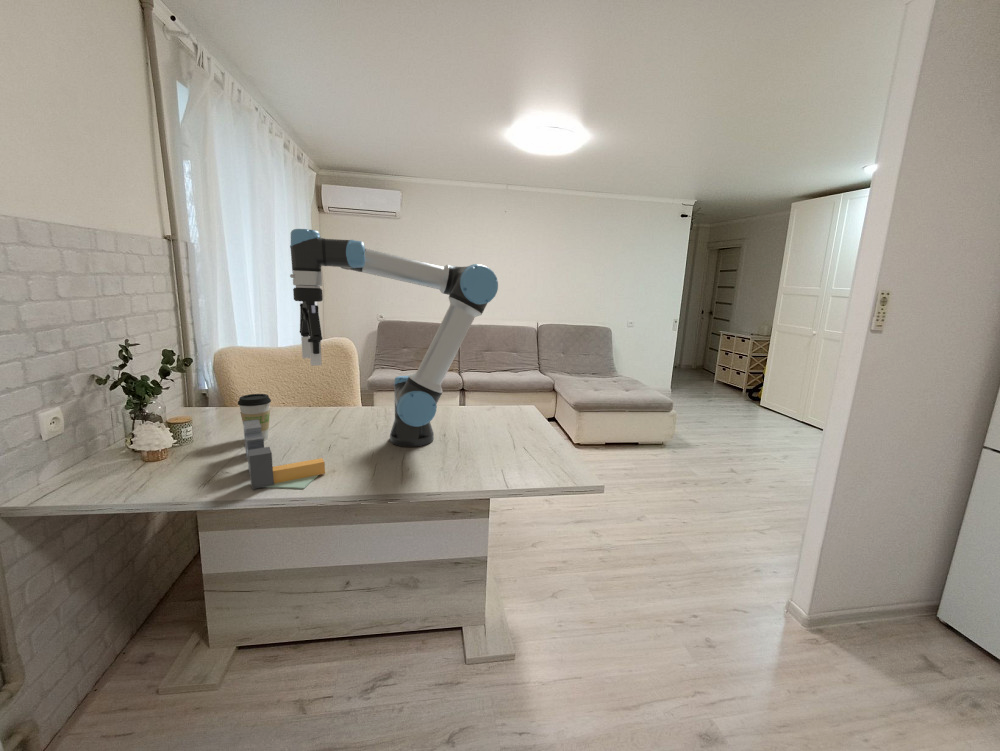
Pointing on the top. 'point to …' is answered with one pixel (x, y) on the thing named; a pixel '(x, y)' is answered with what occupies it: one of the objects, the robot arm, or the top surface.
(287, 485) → the mat
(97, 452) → the top surface
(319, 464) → the plug
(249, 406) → the coffee cup
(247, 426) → the block
